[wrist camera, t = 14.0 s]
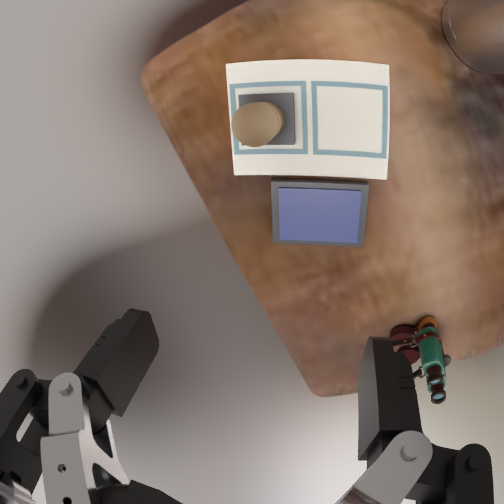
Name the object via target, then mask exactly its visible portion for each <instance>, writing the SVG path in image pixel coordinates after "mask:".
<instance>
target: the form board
mask: <svg viewBox="0 0 504 504" xmlns="http://www.w3.org/2000/svg"><path fill="white" fill-rule="evenodd" d="M226 75H227V89H228V103H229V116H230V129H231V142H232V155H233V167H234V175H306V176H334V177H353V178H369V179H382V180H387V169H388V153H389V130H390V80H389V65H386V64H377V63H368V62H356V61H342V60H312V59H296V60H267V61H252V62H240V63H230V64H226ZM263 93H294V105H295V135H296V142H295V145H263V146H260V147H249V146H246V145H242V143H241V142H239V141H238V140H237V139H236V137H235V136H234V134H233V132H232V127H231V122H232V117H233V115H234V113H235V112H236V111H237V109H239V98H238V95H244V94H263Z"/></svg>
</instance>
